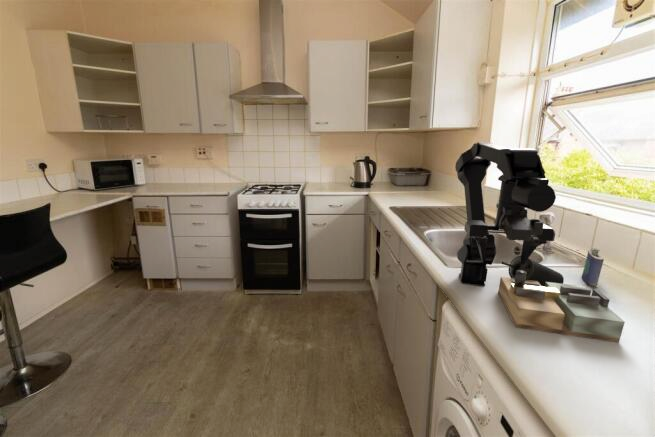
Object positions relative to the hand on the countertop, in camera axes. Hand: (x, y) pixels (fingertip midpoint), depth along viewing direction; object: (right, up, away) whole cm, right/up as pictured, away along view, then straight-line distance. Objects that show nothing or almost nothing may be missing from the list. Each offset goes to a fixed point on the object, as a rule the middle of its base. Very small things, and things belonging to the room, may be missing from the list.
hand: (502, 262), depth 79 cm
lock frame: (+12, -13, -1) cm, 17 cm away
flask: (+37, -8, +18) cm, 42 cm away
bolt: (+7, -8, -1) cm, 11 cm away
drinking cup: (+23, -7, +13) cm, 27 cm away
